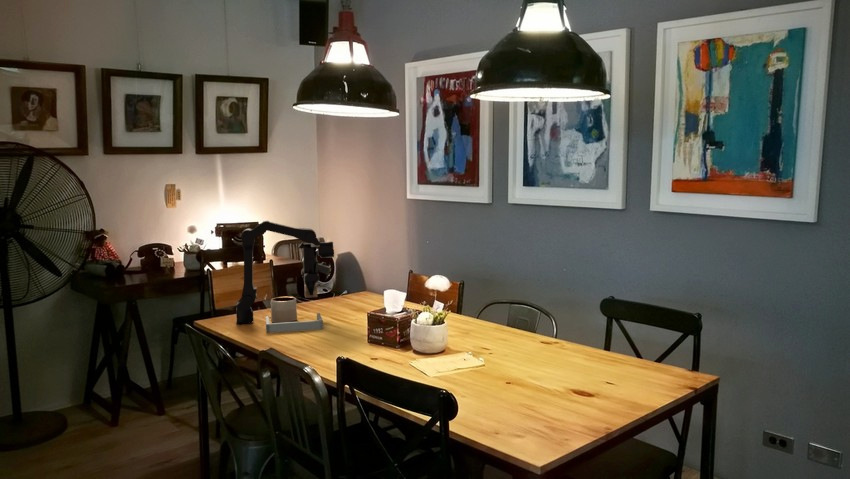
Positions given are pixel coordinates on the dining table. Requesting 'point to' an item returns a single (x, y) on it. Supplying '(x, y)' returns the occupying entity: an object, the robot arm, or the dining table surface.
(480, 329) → the dining table surface
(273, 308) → the planter
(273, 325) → the tray bay
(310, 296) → the walnut block
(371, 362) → the dining table surface
